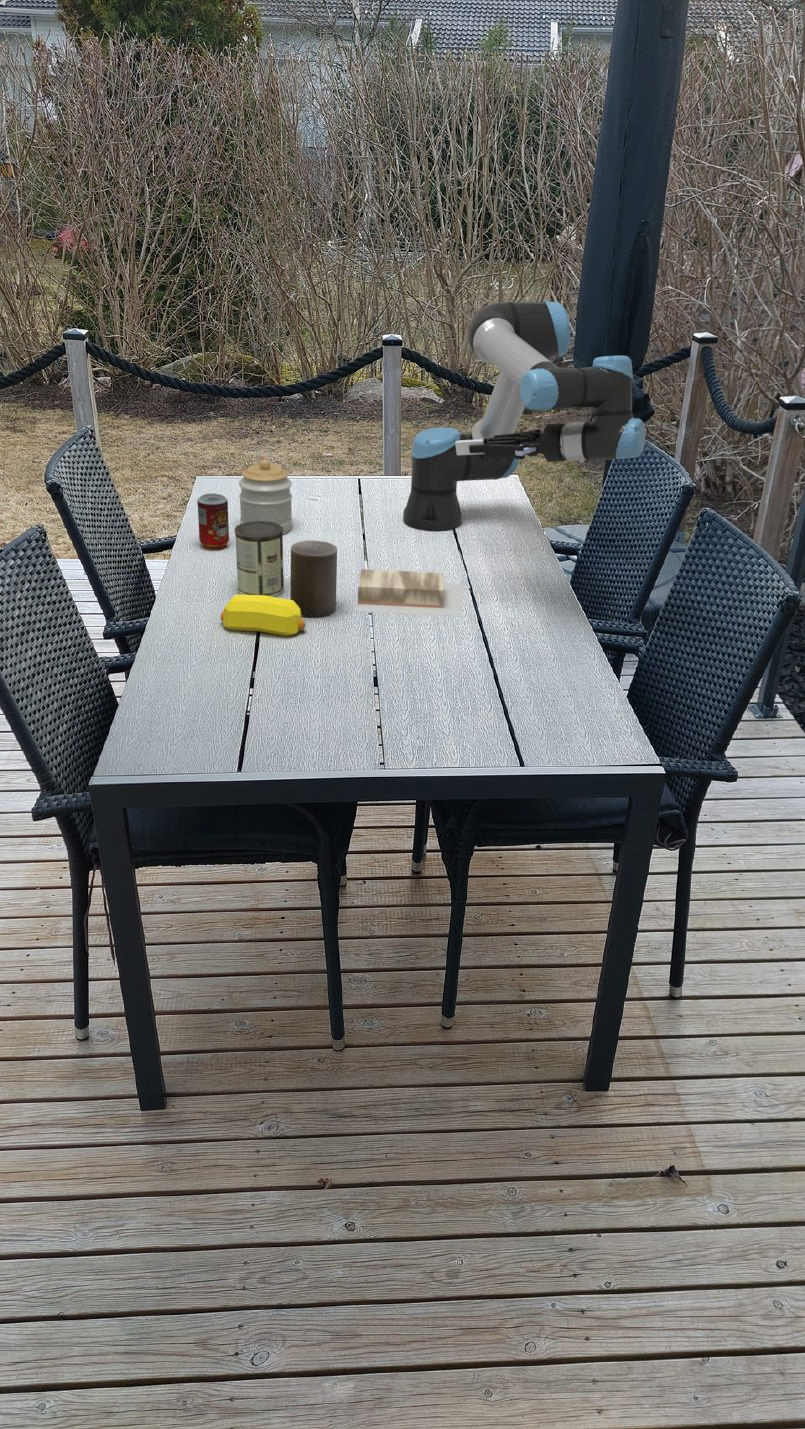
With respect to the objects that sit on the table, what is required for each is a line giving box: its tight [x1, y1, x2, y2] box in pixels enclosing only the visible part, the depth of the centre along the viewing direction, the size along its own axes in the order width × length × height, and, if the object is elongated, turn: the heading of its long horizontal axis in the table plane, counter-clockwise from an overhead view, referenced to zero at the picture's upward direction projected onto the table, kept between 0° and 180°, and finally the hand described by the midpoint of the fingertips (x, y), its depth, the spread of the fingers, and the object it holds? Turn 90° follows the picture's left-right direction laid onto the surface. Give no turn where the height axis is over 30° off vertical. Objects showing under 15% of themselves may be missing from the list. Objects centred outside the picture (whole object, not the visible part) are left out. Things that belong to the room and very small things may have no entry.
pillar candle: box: [289, 539, 338, 619], centre depth 232 cm, size 10×10×15 cm
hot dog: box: [219, 594, 307, 637], centre depth 225 cm, size 18×7×8 cm
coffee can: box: [234, 521, 285, 597], centre depth 240 cm, size 10×10×14 cm
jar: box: [238, 458, 293, 535], centre depth 274 cm, size 13×13×18 cm
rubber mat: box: [357, 582, 463, 618], centre depth 241 cm, size 22×18×1 cm
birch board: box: [357, 568, 444, 608], centre depth 240 cm, size 4×10×18 cm
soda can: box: [196, 493, 230, 551], centre depth 263 cm, size 7×7×12 cm
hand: (457, 448), depth 232 cm, fingers closed
